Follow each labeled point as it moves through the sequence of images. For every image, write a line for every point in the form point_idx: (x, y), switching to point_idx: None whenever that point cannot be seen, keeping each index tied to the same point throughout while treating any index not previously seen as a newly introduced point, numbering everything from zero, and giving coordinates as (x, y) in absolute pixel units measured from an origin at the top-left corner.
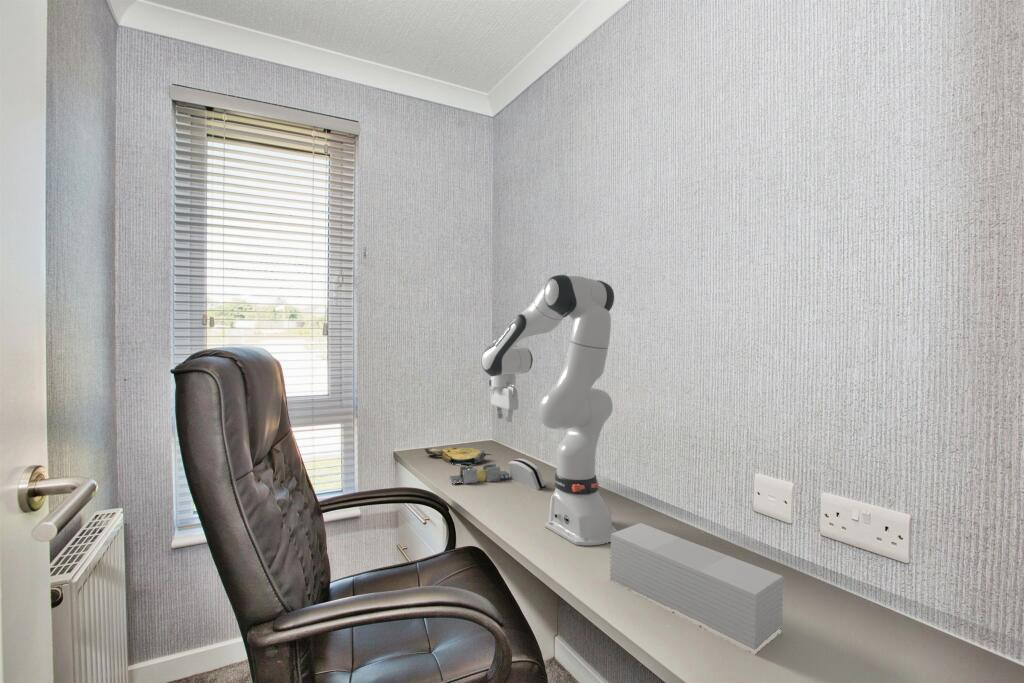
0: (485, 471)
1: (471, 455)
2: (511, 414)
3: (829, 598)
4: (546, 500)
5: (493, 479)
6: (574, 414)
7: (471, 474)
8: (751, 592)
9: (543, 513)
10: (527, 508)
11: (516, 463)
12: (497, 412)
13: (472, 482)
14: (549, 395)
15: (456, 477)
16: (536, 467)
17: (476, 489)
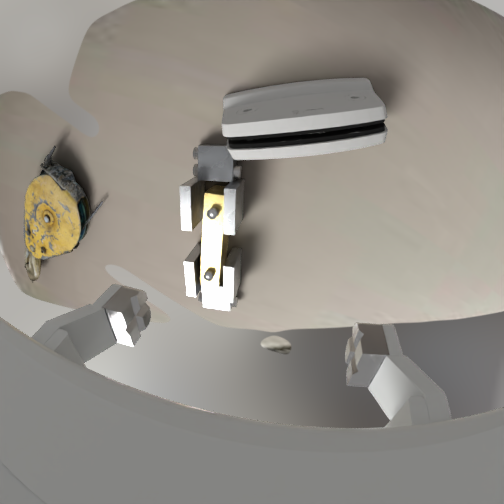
0: (223, 230)
1: (66, 208)
2: (421, 384)
3: None
4: (450, 152)
5: (242, 201)
6: None
7: (236, 275)
8: None
9: (493, 210)
10: (463, 223)
11: (300, 155)
12: (106, 346)
13: (240, 261)
14: None
15: (218, 298)
16: (381, 111)
17: (293, 268)
